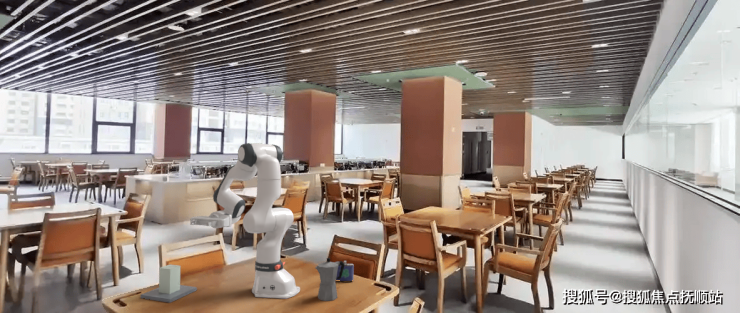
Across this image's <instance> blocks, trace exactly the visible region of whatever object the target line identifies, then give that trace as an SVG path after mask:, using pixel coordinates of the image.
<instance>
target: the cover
mask: <svg viewBox="0 0 740 313" xmlns="http://www.w3.org/2000/svg"><path fill="white" fill-rule="evenodd" d="M181 267H182V266H181V265H177V264H167V265H164V266H160V267H159V271H158V272H159V273H158V274H159V275H158V277H159V278H158V288H159V292H160V293H166V294H171V293H173V292H175V291H178V290H180V285H181Z"/></svg>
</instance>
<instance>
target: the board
mask: <svg viewBox="0 0 740 313" xmlns="http://www.w3.org/2000/svg"><path fill="white" fill-rule="evenodd" d="M197 290H198V287H197V286H190V285H183V284H180V290H178V291H175V292H173V293H171V294H166V293H160V292H159V287H156V288H154V289H152V290H150V291H146V292H144V293H141V294H140V297H139V298H140V299H143V298H145V300H149V299H150V301H156V302H161V303H162V302H163V303H168V304H171V303H173V302H174V301H175V302H176V301H177V300H179V299H182V298H184V297H185V296H188V295H190V294H192V293H195V292H196V291H197Z"/></svg>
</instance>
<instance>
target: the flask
mask: <svg viewBox="0 0 740 313" xmlns="http://www.w3.org/2000/svg"><path fill="white" fill-rule="evenodd" d="M343 263H344V264H345V266H344V270H343V273H342V276H341V279H337V277H339V272H340V269H341V265H339V266H338V271H337V277H336V280H340V281H352V280H353V281H354V270H355V268H354V267H355V266H354V264H353V263H347V260H343ZM336 280H335V281H336Z"/></svg>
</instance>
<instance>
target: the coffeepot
mask: <svg viewBox="0 0 740 313" xmlns="http://www.w3.org/2000/svg"><path fill="white" fill-rule="evenodd" d="M339 265H341V269H340V272H339V277H337V271H338V266H339ZM344 266H345V264H344V261H342V260H339V261H335V262H334V261H331V258H330V257H327V258H326V261H323V262H320V263H318V265H316V266H315V268H314V269H315V270H317V272H318V273H319V280H320V283H319V288H318V293H317V299H318V300H320V301H323V302H331V301H334V300H337V298H339V297H338V292H337V291H338V290H337V284H336V283H337V282H336V277H337V279H341V276H342V273H343V270H344Z"/></svg>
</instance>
